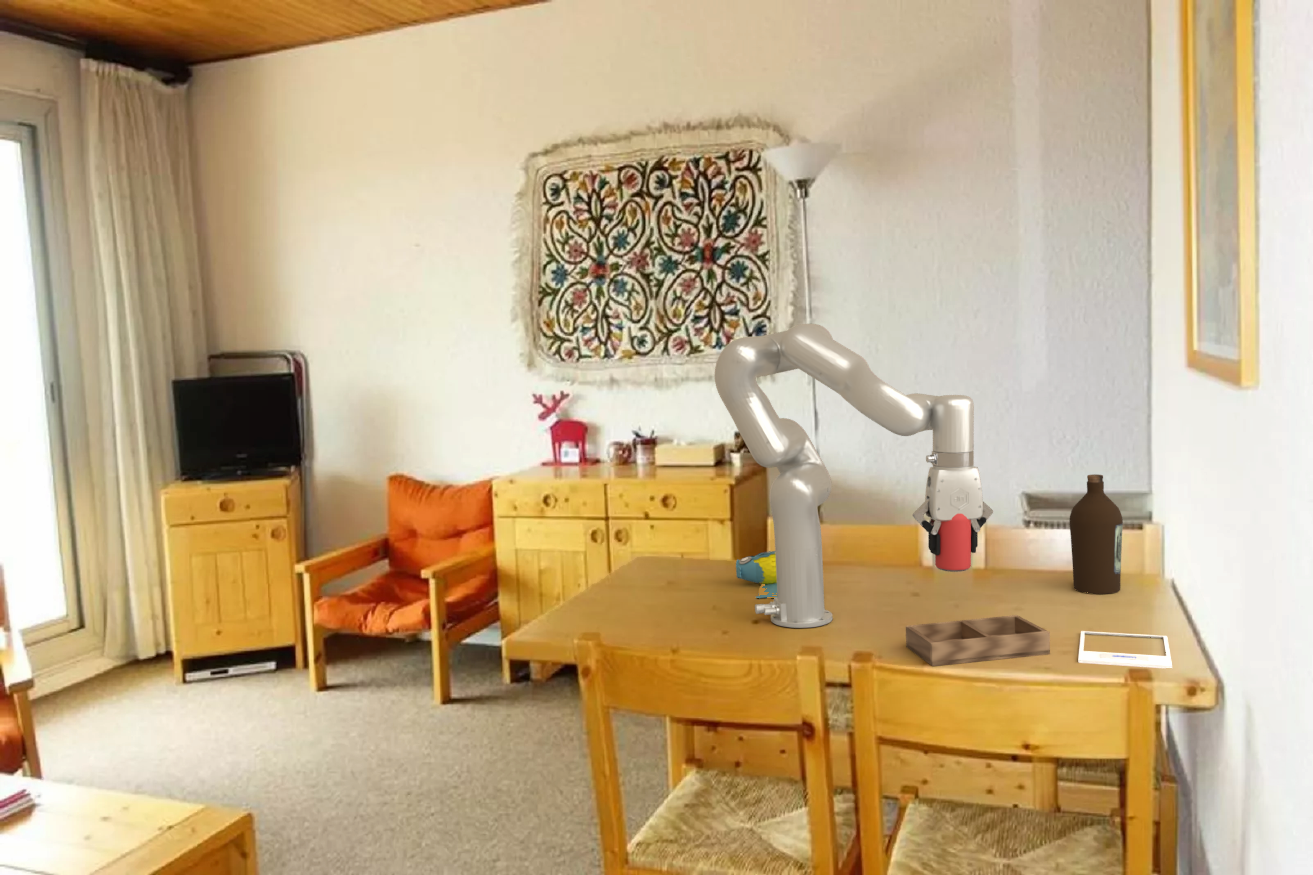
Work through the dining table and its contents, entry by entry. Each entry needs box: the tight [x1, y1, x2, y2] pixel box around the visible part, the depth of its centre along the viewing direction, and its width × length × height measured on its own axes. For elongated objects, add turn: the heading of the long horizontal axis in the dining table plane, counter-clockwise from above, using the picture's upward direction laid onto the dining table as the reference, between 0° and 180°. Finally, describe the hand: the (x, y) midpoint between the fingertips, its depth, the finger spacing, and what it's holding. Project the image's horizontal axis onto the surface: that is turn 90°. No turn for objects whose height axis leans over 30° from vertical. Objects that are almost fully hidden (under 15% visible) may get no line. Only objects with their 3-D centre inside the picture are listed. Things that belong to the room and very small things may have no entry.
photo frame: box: [1077, 630, 1173, 669], centre depth 189 cm, size 15×1×18 cm
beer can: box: [934, 514, 972, 573], centre depth 204 cm, size 7×7×12 cm
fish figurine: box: [735, 550, 777, 599], centre depth 252 cm, size 28×9×15 cm
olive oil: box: [1069, 473, 1124, 595], centre depth 230 cm, size 11×11×25 cm
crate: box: [905, 614, 1051, 667], centre depth 194 cm, size 22×12×4 cm, turn 99°
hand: (952, 551), depth 205 cm, fingers closed on beer can, 6 cm apart
